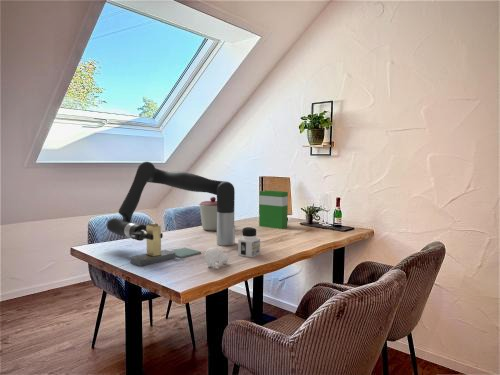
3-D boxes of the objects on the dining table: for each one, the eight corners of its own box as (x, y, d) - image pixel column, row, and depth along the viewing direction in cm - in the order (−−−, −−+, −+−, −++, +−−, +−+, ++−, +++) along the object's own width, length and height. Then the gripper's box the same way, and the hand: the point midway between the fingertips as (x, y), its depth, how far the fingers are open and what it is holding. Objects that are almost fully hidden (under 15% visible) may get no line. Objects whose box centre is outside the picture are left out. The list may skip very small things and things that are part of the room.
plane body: (165, 254, 169) (165, 249, 169) (175, 258, 164) (175, 252, 164) (130, 262, 156) (130, 257, 156) (140, 266, 151) (140, 260, 151)
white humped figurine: (203, 247, 150) (222, 244, 159) (202, 267, 150) (221, 263, 159) (214, 249, 146) (233, 246, 156) (213, 270, 146) (232, 266, 156)
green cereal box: (259, 226, 246) (259, 191, 244) (264, 224, 252) (265, 190, 250) (281, 229, 236) (282, 192, 234) (287, 227, 242) (287, 191, 240)
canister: (211, 225, 245) (211, 194, 243) (232, 229, 234) (232, 196, 233) (192, 229, 230) (192, 197, 229) (214, 233, 220) (214, 199, 218)
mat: (185, 249, 181) (185, 247, 181) (201, 253, 173) (201, 251, 173) (165, 253, 172) (165, 251, 172) (180, 258, 164) (180, 256, 164)
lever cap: (154, 252, 163) (154, 221, 162) (161, 254, 160) (160, 223, 159) (146, 254, 160) (146, 223, 159) (153, 256, 157) (152, 224, 156)
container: (251, 257, 166) (252, 230, 165) (237, 255, 170) (238, 228, 169) (260, 254, 173) (260, 227, 172) (246, 251, 177) (246, 225, 176)
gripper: (121, 225, 163) (142, 230, 152) (149, 221, 174) (170, 225, 162) (122, 241, 164) (143, 248, 152) (149, 236, 174) (171, 242, 163)
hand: (157, 236), depth 157 cm, fingers closed on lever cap, 4 cm apart
